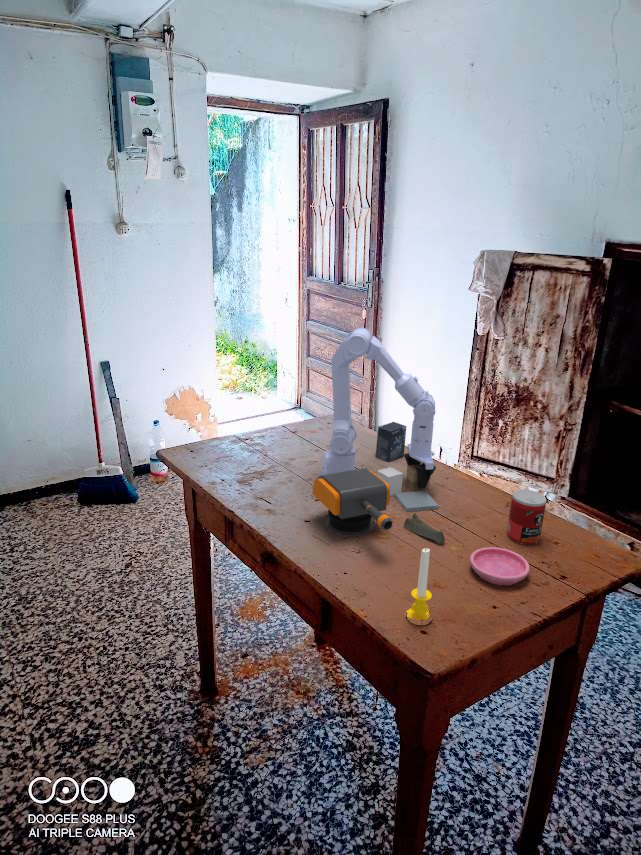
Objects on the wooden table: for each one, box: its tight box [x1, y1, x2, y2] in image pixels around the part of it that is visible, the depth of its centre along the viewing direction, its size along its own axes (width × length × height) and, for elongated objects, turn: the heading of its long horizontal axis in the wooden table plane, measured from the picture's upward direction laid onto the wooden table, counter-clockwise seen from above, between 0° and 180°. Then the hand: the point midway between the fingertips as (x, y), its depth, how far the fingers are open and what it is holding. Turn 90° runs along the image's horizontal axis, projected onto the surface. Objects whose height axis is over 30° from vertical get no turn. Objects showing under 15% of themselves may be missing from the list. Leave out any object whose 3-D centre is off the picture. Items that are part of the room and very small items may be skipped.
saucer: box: [469, 546, 531, 586], centre depth 129 cm, size 12×12×3 cm
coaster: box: [394, 491, 439, 513], centre depth 160 cm, size 9×9×1 cm
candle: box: [406, 547, 433, 620], centre depth 112 cm, size 5×5×16 cm
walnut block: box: [405, 463, 431, 492], centre depth 169 cm, size 5×5×6 cm
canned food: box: [506, 489, 547, 545], centre depth 143 cm, size 8×8×11 cm
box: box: [375, 421, 408, 463], centre depth 189 cm, size 8×6×11 cm
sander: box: [312, 467, 393, 537], centre depth 142 cm, size 15×25×13 cm, turn 25°
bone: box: [403, 513, 446, 546], centre depth 144 cm, size 13×5×4 cm, turn 26°
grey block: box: [376, 466, 404, 497], centre depth 166 cm, size 5×5×6 cm
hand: (417, 482), depth 169 cm, fingers open, 6 cm apart
